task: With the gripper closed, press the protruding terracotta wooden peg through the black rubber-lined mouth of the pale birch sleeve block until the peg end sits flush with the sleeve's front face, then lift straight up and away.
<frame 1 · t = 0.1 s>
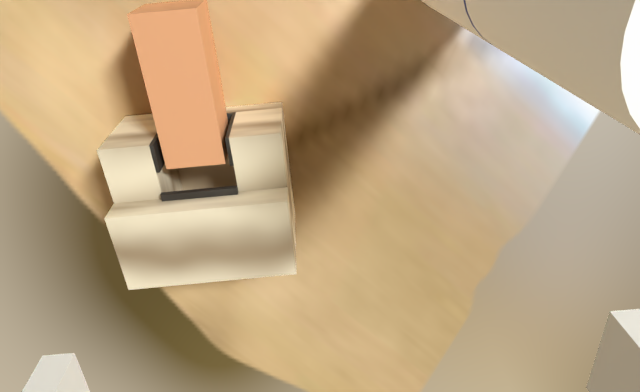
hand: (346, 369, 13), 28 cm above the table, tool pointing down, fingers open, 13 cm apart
peg: (186, 85, 33), point 4 cm above the table, slide at 8.0 cm
sleeve: (215, 167, 40), on the table
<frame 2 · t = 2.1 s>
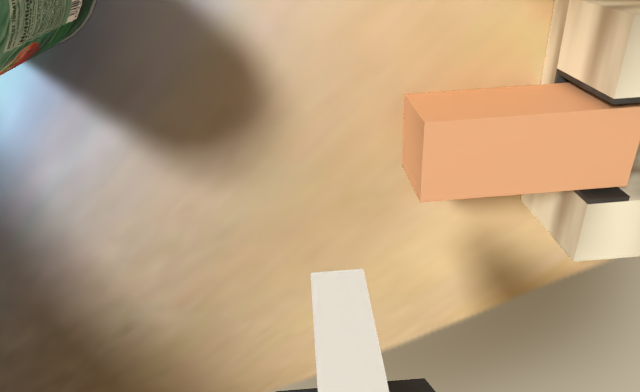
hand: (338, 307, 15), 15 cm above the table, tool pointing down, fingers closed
peg: (512, 138, 24), point 4 cm above the table, slide at 8.0 cm
sleeve: (623, 101, 28), on the table
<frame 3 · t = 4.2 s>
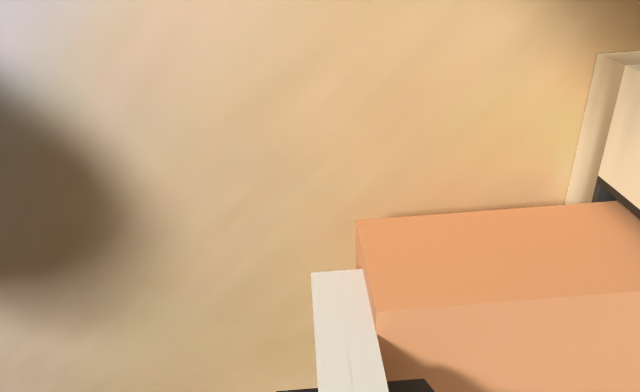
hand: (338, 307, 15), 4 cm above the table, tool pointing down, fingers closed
peg: (537, 302, 14), point 4 cm above the table, slide at 7.6 cm, touching gripper
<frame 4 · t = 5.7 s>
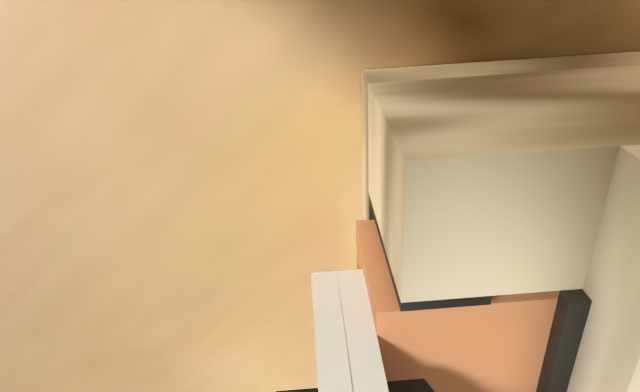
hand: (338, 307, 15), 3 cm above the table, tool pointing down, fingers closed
peg: (538, 303, 14), point 4 cm above the table, slide at 0.5 cm, touching gripper
sleeve: (502, 227, 18), on the table
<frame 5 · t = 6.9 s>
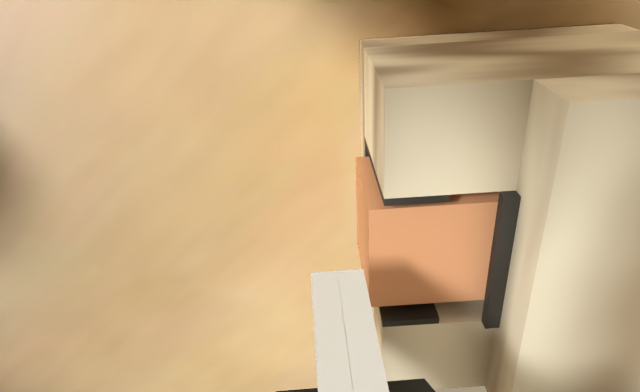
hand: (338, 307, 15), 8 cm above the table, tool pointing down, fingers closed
peg: (496, 220, 18), point 4 cm above the table, slide at 0.4 cm
sleeve: (474, 172, 22), on the table
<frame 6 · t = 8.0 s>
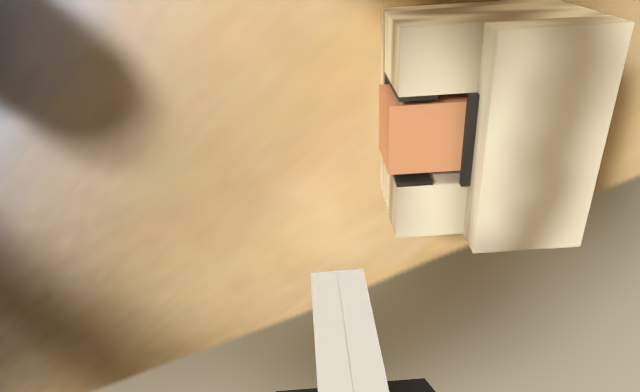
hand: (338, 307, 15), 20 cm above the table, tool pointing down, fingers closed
peg: (469, 123, 29), point 4 cm above the table, slide at 0.4 cm
sleeve: (458, 100, 32), on the table
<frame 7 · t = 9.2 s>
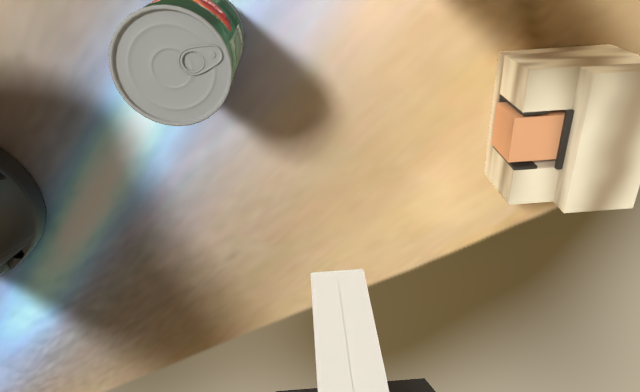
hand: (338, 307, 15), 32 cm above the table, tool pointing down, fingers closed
peg: (558, 128, 43), point 4 cm above the table, slide at 0.4 cm
sleeve: (543, 112, 47), on the table
canned tomato: (198, 34, 42), on the table
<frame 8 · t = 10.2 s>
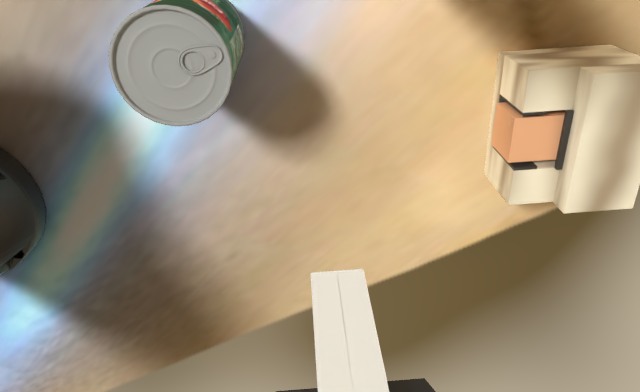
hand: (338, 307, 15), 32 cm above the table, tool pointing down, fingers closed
peg: (558, 128, 43), point 4 cm above the table, slide at 0.4 cm
sleeve: (543, 112, 47), on the table
canned tomato: (198, 35, 42), on the table
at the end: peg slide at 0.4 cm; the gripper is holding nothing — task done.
